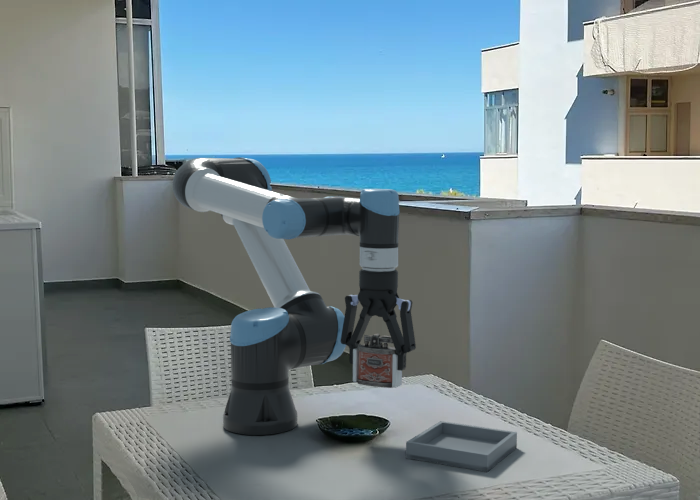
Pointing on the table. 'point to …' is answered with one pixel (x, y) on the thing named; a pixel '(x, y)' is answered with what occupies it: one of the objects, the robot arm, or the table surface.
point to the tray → (462, 446)
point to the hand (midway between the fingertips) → (377, 383)
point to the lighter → (376, 361)
